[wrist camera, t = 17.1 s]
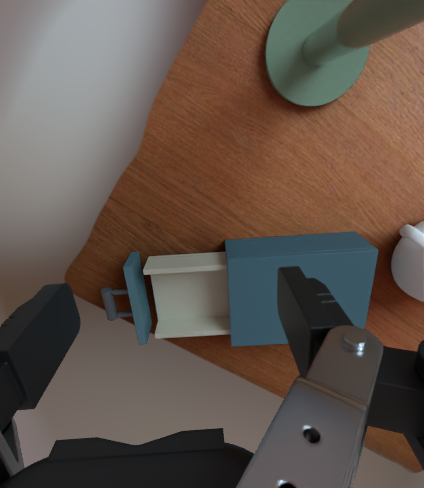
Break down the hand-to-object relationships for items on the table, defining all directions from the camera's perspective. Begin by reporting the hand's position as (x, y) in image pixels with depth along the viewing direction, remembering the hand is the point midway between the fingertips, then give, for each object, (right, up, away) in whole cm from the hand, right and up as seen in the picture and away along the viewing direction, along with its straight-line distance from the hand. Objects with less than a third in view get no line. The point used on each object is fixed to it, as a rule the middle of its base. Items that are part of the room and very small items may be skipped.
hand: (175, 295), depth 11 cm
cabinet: (+14, -3, +36) cm, 39 cm away
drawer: (-3, -5, +36) cm, 36 cm away
